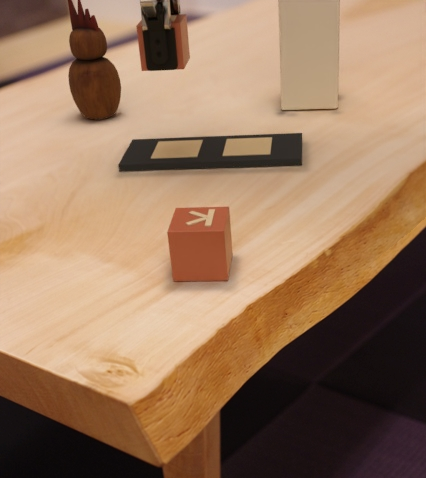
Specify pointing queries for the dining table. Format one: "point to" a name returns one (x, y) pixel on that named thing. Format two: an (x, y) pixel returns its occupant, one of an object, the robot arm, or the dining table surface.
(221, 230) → the red letter k block
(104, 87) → the wooden figurine
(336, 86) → the milk carton
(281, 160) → the word mat
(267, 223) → the dining table surface
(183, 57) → the red letter o block
